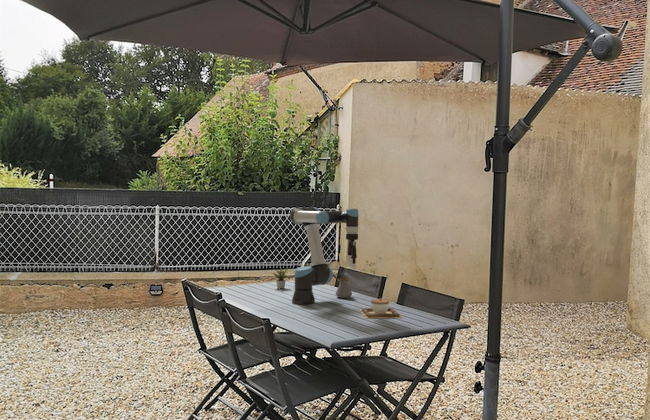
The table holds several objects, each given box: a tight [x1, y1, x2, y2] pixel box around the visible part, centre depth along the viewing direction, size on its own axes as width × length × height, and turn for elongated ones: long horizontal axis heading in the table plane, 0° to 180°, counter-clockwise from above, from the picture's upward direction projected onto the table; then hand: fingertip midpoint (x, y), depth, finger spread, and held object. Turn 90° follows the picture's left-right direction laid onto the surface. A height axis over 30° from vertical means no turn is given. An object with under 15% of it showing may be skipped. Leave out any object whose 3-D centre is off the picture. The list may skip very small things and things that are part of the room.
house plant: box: [271, 267, 289, 289], centre depth 438 cm, size 14×14×16 cm
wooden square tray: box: [358, 307, 403, 320], centre depth 347 cm, size 22×22×2 cm
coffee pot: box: [332, 274, 353, 299], centre depth 405 cm, size 21×12×15 cm, turn 33°
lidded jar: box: [370, 297, 390, 314], centre depth 347 cm, size 11×11×9 cm
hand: (351, 267), depth 361 cm, fingers open, 13 cm apart
